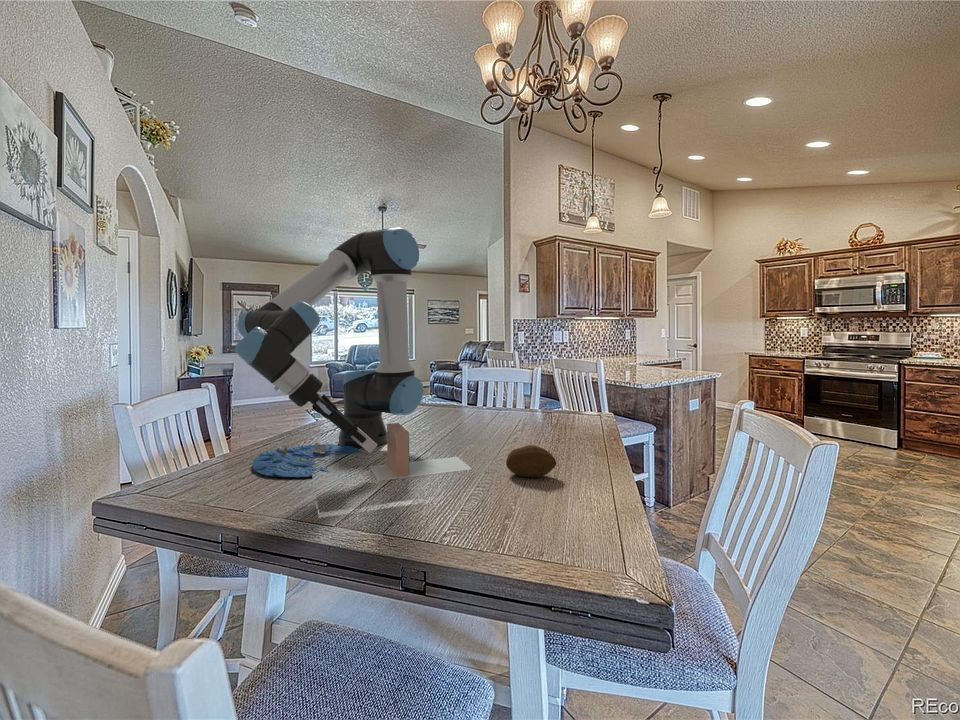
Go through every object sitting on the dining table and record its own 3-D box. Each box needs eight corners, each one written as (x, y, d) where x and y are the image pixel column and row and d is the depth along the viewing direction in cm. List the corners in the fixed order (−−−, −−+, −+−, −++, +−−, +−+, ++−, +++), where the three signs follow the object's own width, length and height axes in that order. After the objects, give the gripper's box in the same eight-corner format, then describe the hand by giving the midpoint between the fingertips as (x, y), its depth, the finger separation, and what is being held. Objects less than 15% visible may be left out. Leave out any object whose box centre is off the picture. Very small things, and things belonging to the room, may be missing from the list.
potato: (505, 470, 122) (505, 440, 121) (553, 471, 122) (554, 441, 121) (506, 480, 114) (506, 449, 113) (557, 481, 114) (558, 450, 113)
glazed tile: (387, 465, 123) (387, 423, 122) (400, 464, 124) (400, 422, 123) (395, 477, 114) (395, 432, 113) (409, 475, 115) (409, 431, 114)
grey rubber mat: (369, 469, 122) (369, 466, 122) (456, 459, 131) (456, 456, 131) (377, 484, 111) (377, 480, 111) (472, 472, 120) (472, 469, 120)
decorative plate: (382, 453, 142) (382, 436, 142) (343, 487, 113) (344, 465, 112) (288, 446, 145) (289, 429, 145) (227, 477, 116) (227, 456, 115)
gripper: (286, 392, 113) (358, 453, 121) (286, 400, 101) (366, 467, 109) (309, 369, 115) (379, 431, 123) (312, 375, 103) (389, 443, 111)
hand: (373, 448), depth 116 cm, fingers closed
